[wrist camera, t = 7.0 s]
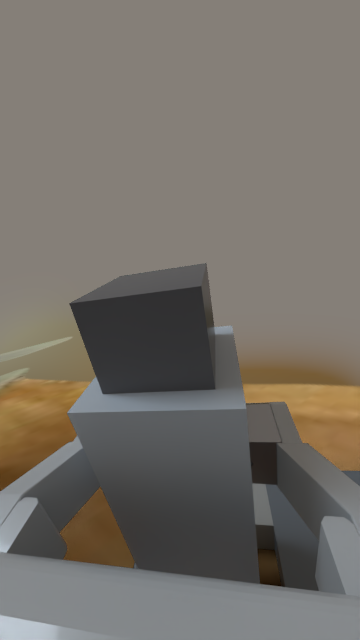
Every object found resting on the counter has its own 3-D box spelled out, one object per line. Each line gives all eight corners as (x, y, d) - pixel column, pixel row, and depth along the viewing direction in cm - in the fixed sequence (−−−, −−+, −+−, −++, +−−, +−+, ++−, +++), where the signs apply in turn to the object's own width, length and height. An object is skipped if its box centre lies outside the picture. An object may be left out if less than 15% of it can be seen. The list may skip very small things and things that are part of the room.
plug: (161, 619, 9) (23, 316, 4) (176, 507, 13) (111, 275, 8) (264, 637, 8) (237, 290, 4) (249, 511, 12) (225, 257, 7)
